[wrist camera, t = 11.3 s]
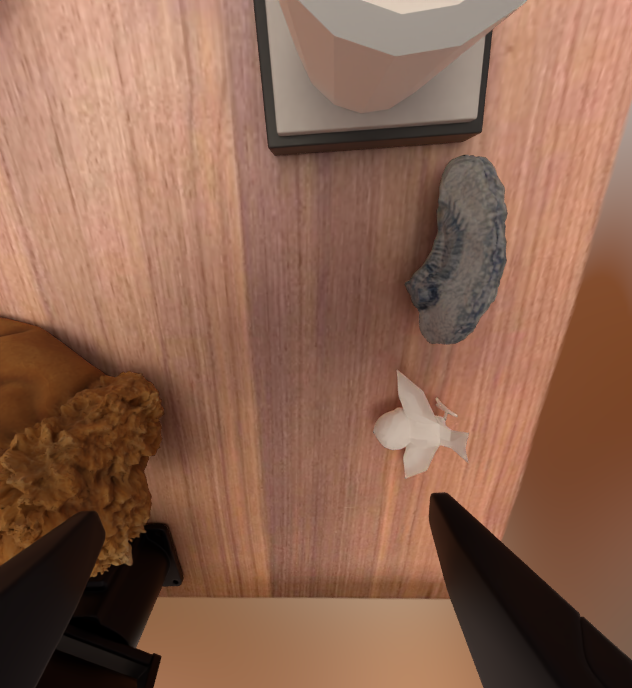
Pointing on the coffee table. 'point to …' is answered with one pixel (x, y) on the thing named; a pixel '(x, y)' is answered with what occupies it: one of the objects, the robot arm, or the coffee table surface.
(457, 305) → the fossil
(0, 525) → the stuffed squirrel
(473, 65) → the kitchen scale
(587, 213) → the coffee table surface
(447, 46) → the shot glass
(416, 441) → the toy bird
